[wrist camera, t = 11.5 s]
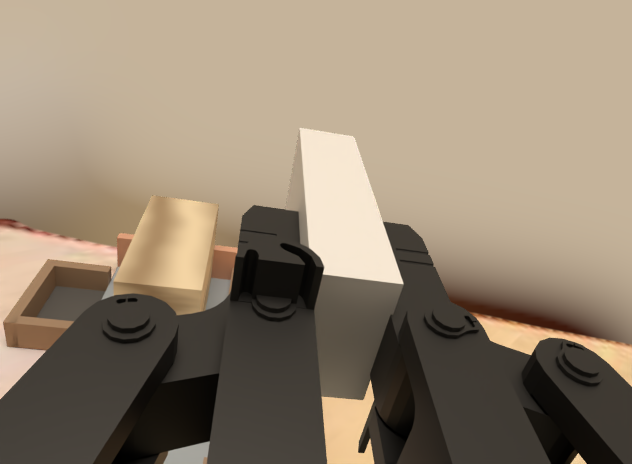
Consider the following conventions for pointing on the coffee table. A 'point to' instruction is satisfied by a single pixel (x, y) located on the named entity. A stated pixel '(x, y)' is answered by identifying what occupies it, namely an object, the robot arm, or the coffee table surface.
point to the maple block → (171, 254)
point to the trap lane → (81, 293)
